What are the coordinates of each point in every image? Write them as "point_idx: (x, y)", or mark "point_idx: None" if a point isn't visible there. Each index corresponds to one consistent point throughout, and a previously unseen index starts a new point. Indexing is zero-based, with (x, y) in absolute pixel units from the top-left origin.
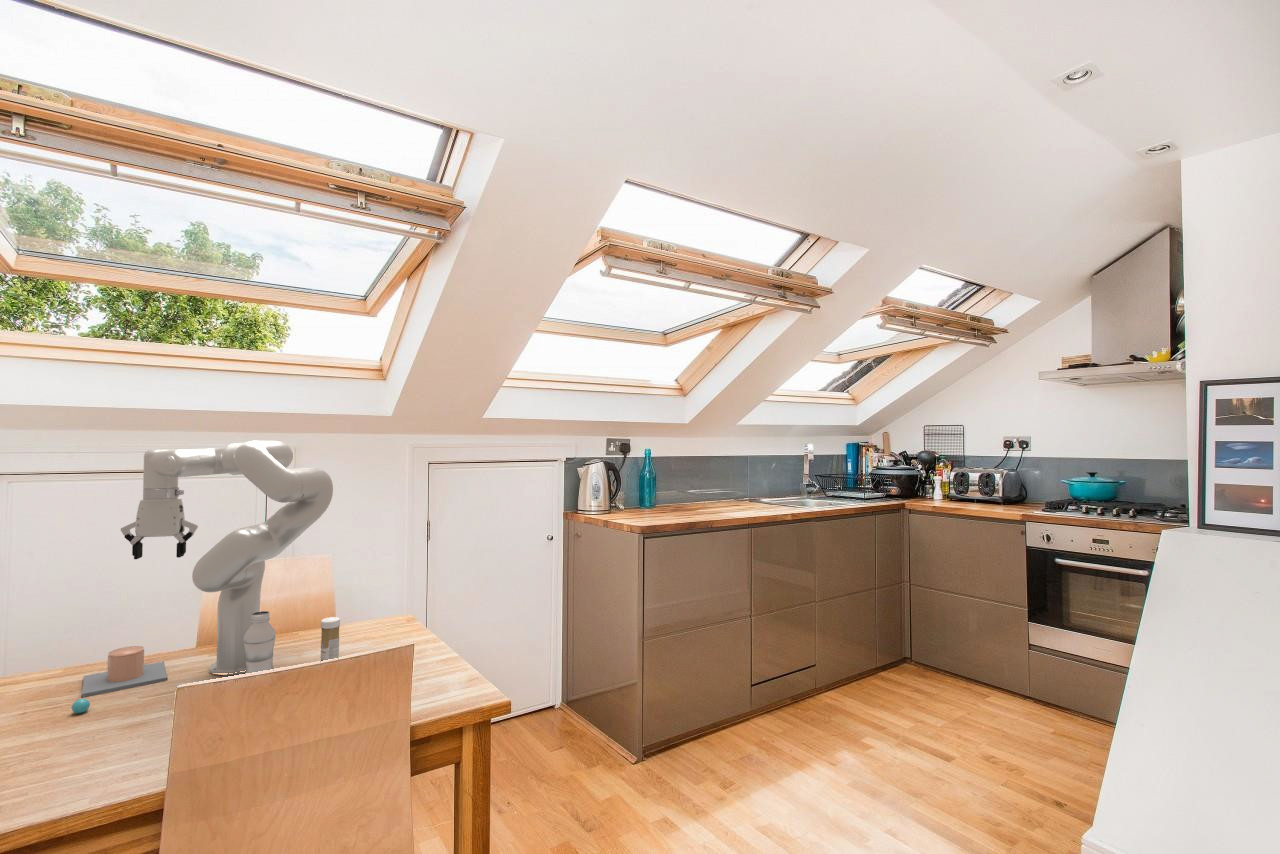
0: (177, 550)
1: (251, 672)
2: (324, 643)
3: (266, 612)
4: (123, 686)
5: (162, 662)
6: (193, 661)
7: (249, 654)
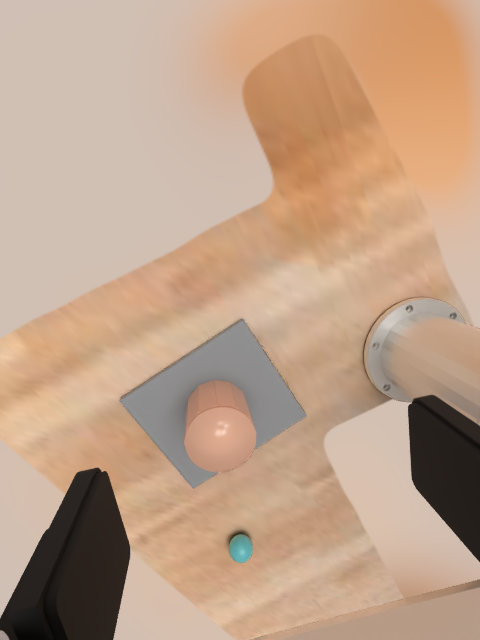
0: (461, 532)
1: None
2: None
3: None
4: None
5: (244, 328)
6: (301, 304)
7: None
